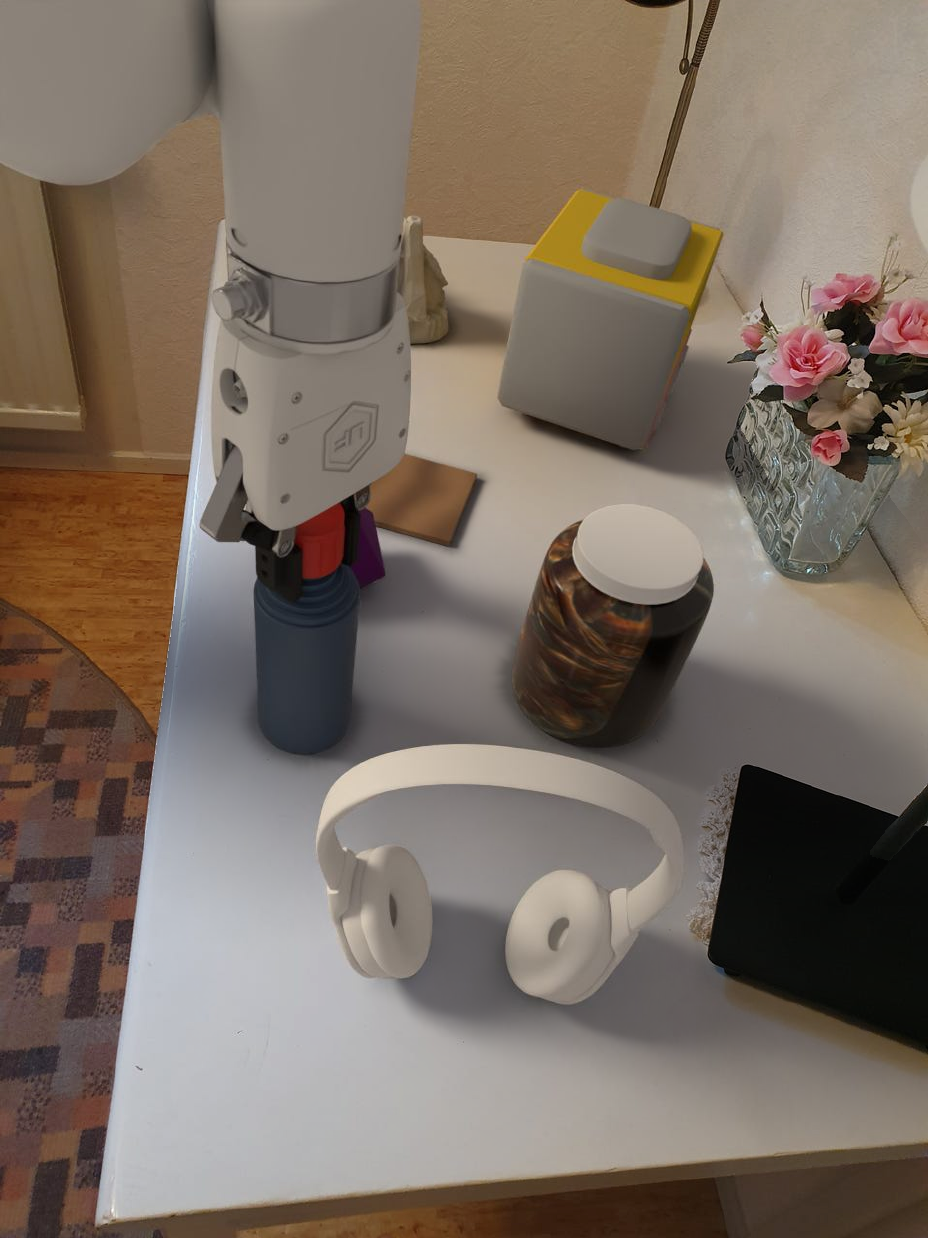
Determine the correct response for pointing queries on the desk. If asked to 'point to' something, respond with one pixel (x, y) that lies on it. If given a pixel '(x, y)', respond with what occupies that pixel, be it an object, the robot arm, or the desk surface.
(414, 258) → the beige rough towered piece
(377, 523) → the coaster
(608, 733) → the jar
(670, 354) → the alarm clock
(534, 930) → the headphones
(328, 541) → the cap
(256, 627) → the water bottle
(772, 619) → the desk surface
